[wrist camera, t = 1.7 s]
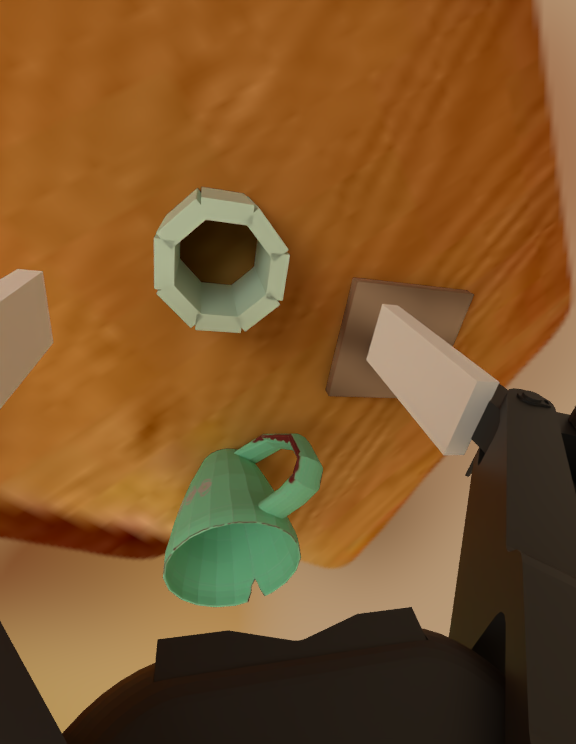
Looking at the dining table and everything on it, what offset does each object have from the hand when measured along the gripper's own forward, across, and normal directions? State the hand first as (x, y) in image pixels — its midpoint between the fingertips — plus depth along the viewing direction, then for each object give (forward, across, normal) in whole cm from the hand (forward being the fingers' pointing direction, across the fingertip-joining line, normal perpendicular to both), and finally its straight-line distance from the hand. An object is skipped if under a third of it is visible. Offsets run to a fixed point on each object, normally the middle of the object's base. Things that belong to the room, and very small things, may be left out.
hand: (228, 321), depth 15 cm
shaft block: (+12, +15, -6) cm, 20 cm away
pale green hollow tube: (+12, 0, 0) cm, 12 cm away
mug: (+13, +3, -17) cm, 22 cm away
